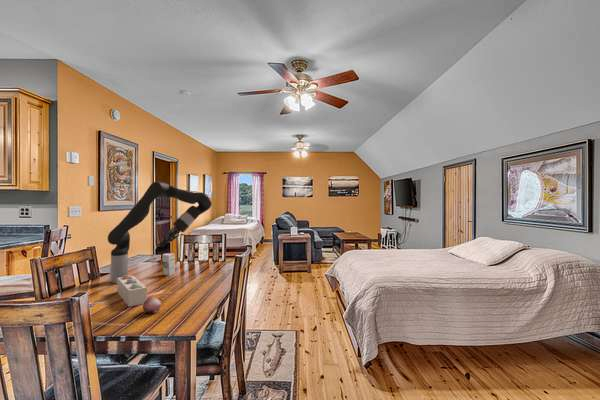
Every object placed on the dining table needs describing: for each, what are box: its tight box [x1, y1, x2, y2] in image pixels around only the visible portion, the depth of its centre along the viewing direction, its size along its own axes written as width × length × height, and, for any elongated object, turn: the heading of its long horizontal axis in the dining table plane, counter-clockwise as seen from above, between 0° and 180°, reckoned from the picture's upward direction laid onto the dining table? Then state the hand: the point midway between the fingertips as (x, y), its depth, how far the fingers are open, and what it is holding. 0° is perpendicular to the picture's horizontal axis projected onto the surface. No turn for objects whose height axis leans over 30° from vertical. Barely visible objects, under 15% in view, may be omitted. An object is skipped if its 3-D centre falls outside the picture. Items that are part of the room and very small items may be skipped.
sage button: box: [132, 283, 141, 289], centre depth 153 cm, size 4×4×2 cm
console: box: [116, 275, 148, 307], centre depth 162 cm, size 30×8×8 cm, turn 41°
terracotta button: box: [123, 274, 132, 280], centre depth 170 cm, size 4×4×2 cm
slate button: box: [127, 279, 135, 284], centre depth 162 cm, size 4×4×2 cm
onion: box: [142, 296, 162, 314], centre depth 141 cm, size 8×8×7 cm
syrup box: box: [162, 252, 176, 277], centre depth 209 cm, size 6×6×14 cm
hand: (160, 245), depth 161 cm, fingers closed
